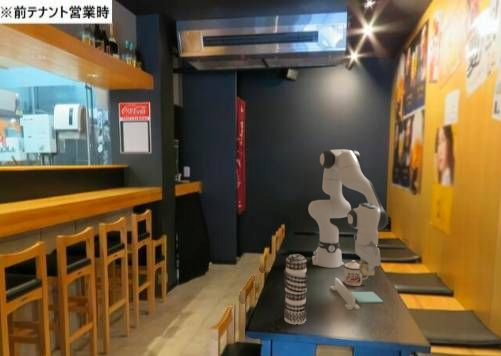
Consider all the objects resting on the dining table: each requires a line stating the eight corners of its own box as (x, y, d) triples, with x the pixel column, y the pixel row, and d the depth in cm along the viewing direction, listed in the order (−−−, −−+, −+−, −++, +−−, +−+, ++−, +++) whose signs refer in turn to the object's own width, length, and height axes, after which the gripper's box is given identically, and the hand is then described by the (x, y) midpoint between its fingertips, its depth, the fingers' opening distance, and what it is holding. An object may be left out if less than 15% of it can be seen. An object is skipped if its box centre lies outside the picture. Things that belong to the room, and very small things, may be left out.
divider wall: (331, 288, 163) (331, 278, 163) (341, 288, 163) (341, 277, 163) (347, 309, 139) (348, 297, 139) (359, 309, 139) (359, 297, 139)
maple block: (359, 271, 154) (359, 261, 153) (369, 271, 154) (370, 260, 154) (363, 275, 149) (363, 264, 148) (374, 275, 149) (374, 264, 149)
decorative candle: (291, 311, 137) (292, 251, 135) (311, 318, 131) (312, 255, 130) (278, 319, 129) (279, 255, 128) (299, 327, 124) (300, 260, 123)
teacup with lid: (344, 285, 167) (344, 262, 166) (343, 279, 175) (343, 257, 175) (369, 287, 164) (370, 264, 164) (367, 281, 173) (367, 259, 173)
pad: (349, 293, 157) (349, 291, 157) (372, 293, 158) (372, 291, 158) (358, 302, 146) (358, 301, 146) (383, 302, 147) (383, 301, 147)
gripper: (384, 245, 140) (383, 277, 141) (365, 234, 161) (365, 263, 161) (370, 245, 140) (369, 277, 141) (352, 234, 160) (352, 263, 161)
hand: (366, 270), depth 151 cm, fingers closed on maple block, 5 cm apart
